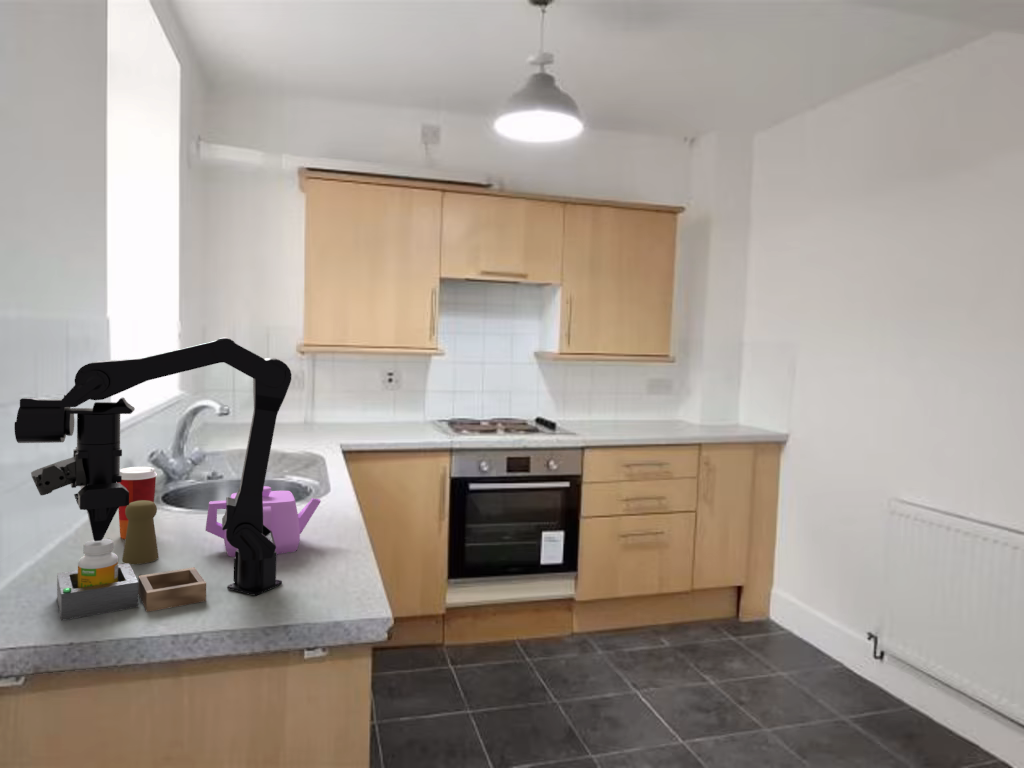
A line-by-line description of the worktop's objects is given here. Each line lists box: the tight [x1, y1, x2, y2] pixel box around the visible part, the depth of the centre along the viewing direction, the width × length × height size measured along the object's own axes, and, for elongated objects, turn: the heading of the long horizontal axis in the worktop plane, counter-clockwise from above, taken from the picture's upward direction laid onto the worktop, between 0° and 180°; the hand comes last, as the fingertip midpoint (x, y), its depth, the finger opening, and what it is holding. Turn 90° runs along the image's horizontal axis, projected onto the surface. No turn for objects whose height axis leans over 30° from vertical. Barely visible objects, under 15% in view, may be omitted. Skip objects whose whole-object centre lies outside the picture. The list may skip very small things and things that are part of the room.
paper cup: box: [117, 466, 158, 540], centre depth 139 cm, size 8×8×14 cm
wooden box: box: [137, 567, 207, 613], centre depth 109 cm, size 8×8×3 cm
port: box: [56, 563, 139, 621], centre depth 105 cm, size 10×10×4 cm
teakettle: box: [205, 485, 322, 558], centre depth 136 cm, size 17×17×12 cm
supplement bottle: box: [77, 538, 119, 588], centre depth 105 cm, size 5×5×10 cm
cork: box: [121, 500, 159, 565], centre depth 125 cm, size 6×6×11 cm
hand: (97, 540), depth 105 cm, fingers closed
